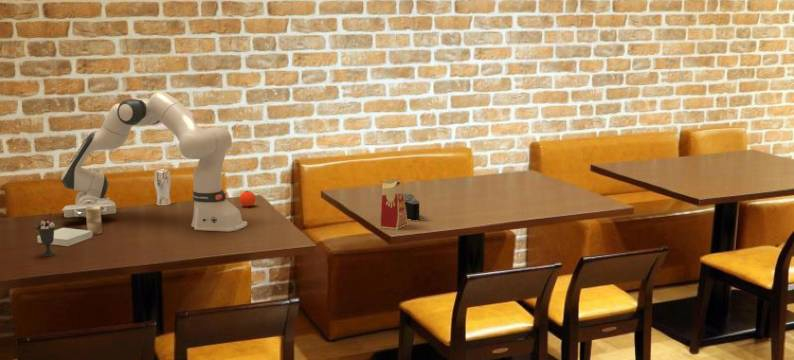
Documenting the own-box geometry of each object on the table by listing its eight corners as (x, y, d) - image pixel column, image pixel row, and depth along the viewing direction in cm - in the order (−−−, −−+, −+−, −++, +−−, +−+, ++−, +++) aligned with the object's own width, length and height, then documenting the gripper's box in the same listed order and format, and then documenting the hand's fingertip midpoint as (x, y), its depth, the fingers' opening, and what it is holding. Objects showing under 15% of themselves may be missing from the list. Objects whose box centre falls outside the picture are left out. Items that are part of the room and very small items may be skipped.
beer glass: (167, 206, 416) (165, 172, 414) (152, 205, 418) (151, 171, 415) (174, 202, 423) (172, 169, 420) (159, 201, 425) (158, 168, 422)
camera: (427, 219, 392) (427, 195, 390) (413, 221, 388) (413, 197, 386) (405, 212, 403) (405, 189, 401) (392, 215, 399) (392, 191, 397)
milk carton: (407, 225, 382) (407, 176, 378) (397, 230, 374) (397, 180, 370) (387, 222, 386) (386, 174, 382) (377, 228, 378) (376, 178, 374)
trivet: (92, 237, 365) (92, 230, 364) (67, 246, 352) (67, 239, 351) (63, 233, 370) (63, 227, 369) (37, 242, 357) (37, 236, 356)
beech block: (100, 230, 375) (99, 205, 373) (102, 233, 370) (100, 208, 368) (87, 231, 373) (85, 207, 371) (88, 234, 368) (86, 209, 366)
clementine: (237, 205, 418) (236, 189, 416) (252, 203, 421) (252, 188, 419) (242, 209, 411) (241, 192, 409) (257, 207, 414) (257, 191, 412)
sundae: (62, 252, 344) (59, 212, 341) (49, 257, 337) (46, 216, 334) (47, 251, 346) (44, 210, 343) (34, 255, 339) (31, 215, 336)
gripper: (61, 201, 387) (63, 208, 375) (113, 197, 395) (117, 203, 383) (62, 216, 389) (64, 224, 376) (114, 211, 396) (118, 218, 384)
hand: (91, 213), depth 379 cm, fingers open, 8 cm apart
